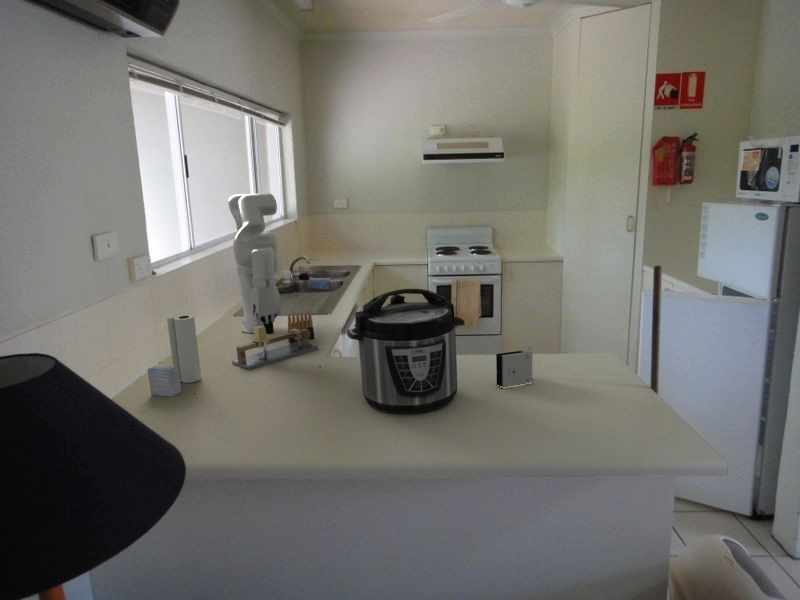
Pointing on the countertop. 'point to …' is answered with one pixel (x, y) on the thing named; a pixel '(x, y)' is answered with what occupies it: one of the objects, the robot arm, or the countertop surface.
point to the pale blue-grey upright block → (164, 380)
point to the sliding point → (261, 338)
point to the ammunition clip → (300, 325)
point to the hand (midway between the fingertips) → (269, 333)
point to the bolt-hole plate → (275, 355)
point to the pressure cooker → (407, 352)
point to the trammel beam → (293, 333)
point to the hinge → (514, 367)
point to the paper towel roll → (184, 347)
